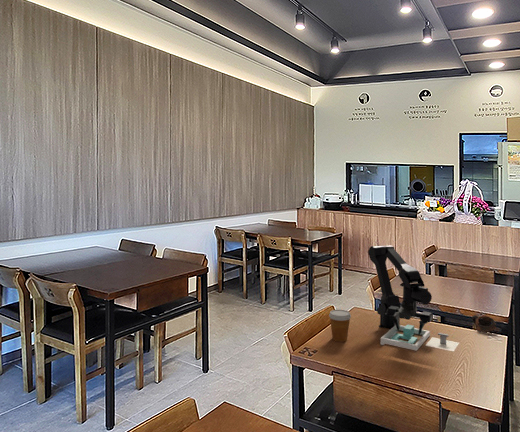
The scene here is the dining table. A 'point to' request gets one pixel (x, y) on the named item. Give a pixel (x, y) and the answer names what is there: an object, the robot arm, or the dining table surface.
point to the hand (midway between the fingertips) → (408, 332)
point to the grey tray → (387, 340)
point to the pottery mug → (484, 323)
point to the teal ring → (406, 335)
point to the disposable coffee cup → (339, 324)
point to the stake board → (446, 347)
